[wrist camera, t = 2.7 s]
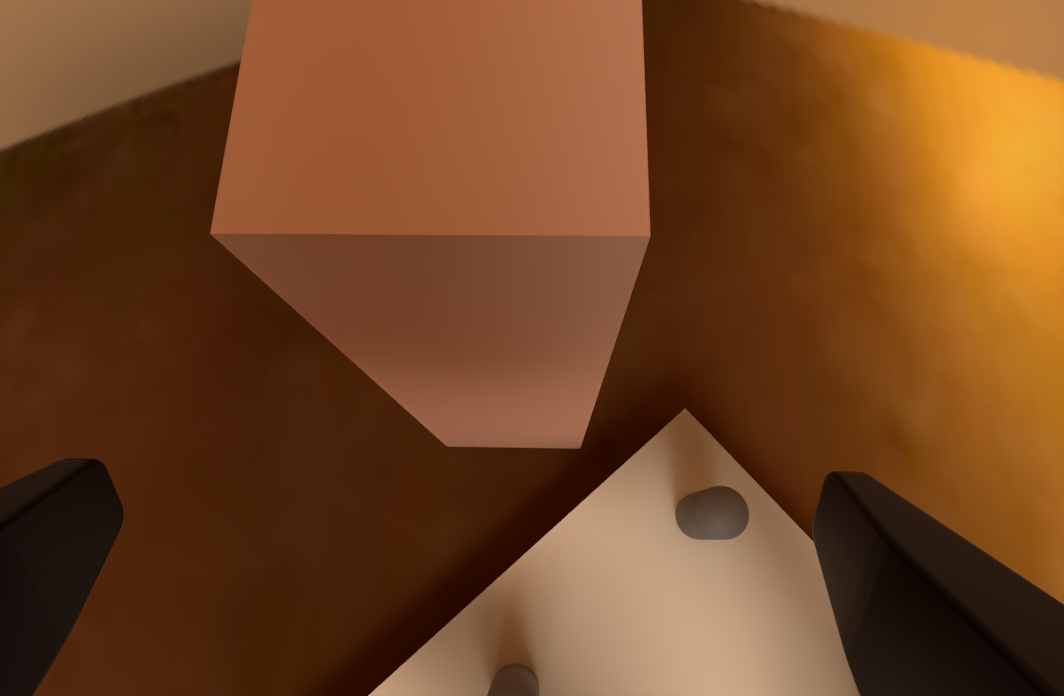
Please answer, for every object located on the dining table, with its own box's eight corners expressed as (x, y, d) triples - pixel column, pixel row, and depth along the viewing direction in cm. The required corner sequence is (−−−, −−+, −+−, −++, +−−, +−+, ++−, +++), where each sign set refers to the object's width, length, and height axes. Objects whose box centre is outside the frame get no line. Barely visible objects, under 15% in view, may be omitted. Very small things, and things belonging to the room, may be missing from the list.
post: (580, 448, 19) (650, 236, 6) (446, 446, 19) (210, 233, 6) (580, 322, 20) (638, -103, 7) (454, 320, 20) (270, -99, 7)
